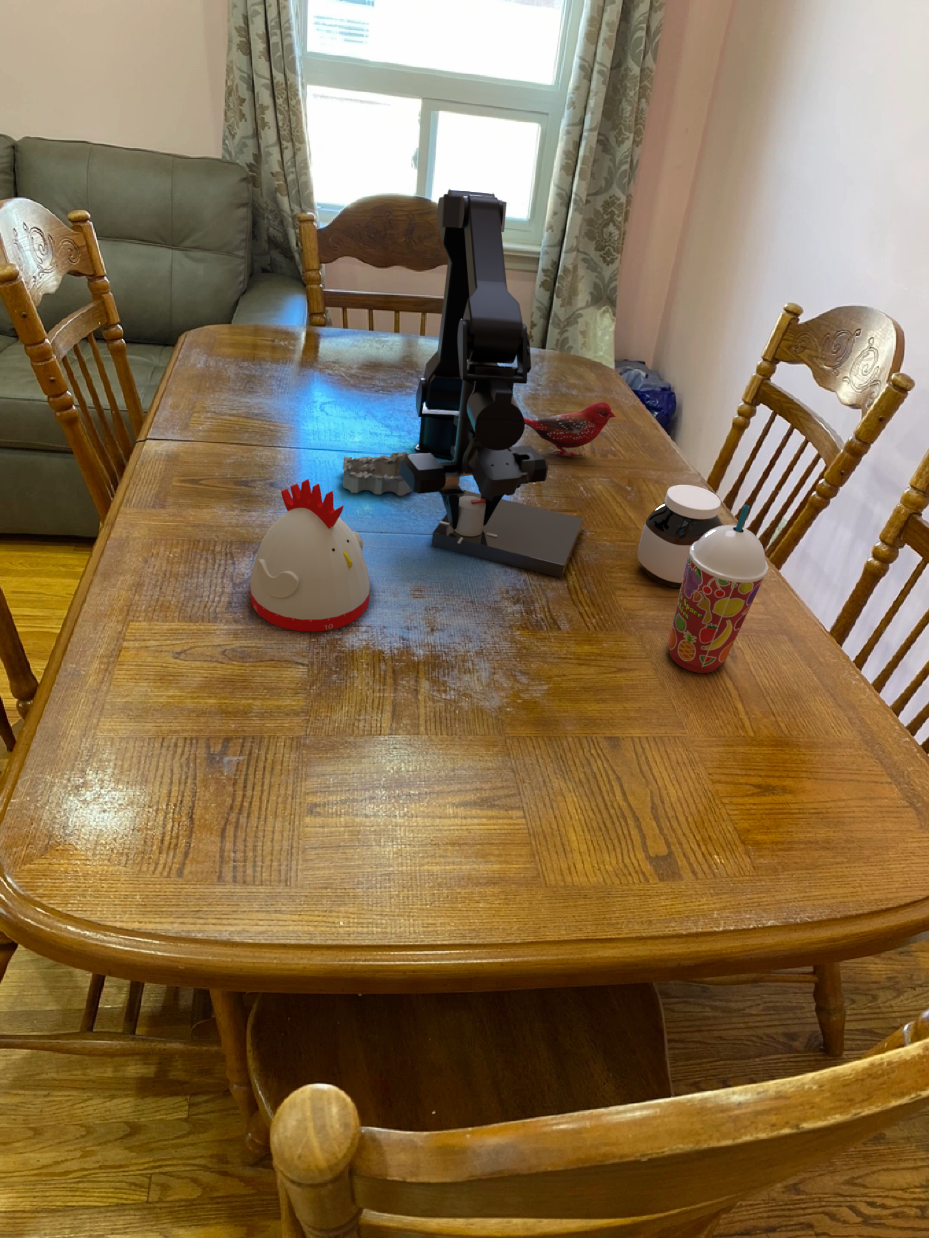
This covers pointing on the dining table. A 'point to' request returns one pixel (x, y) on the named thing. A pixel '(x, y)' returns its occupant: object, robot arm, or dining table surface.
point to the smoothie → (716, 595)
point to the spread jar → (676, 532)
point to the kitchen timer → (310, 566)
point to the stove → (517, 537)
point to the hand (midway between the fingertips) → (467, 526)
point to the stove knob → (470, 516)
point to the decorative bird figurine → (573, 427)
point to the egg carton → (375, 474)
